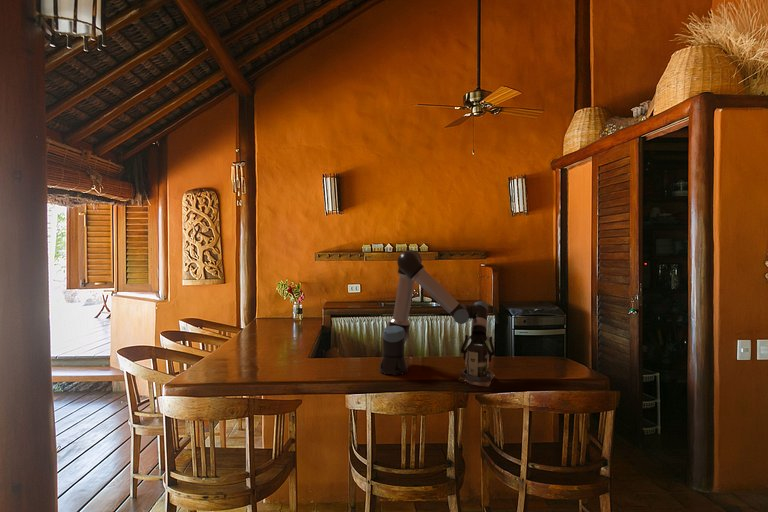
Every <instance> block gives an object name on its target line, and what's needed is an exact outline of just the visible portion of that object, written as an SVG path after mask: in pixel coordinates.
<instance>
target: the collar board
mask: <svg viewBox="0 0 768 512" xmlns="http://www.w3.org/2000/svg"><path fill="white" fill-rule="evenodd" d="M494 376H495V377H496V374H494V372H493V371H491V370H489V368H487V376H482V377H477V376H470V375H467V367H466V368H463V369H462V371H461V372H460V377H459V379H460V378H464V379H465V380H464V381H467V382H468V383H469V384H468V385H472V386H473V385H474V386H481V387H486V388H487V387H488V388H489V387H490V385H492V383H491V380H492V378H493V377H494Z"/></svg>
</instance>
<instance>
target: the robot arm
mask: <svg viewBox="0 0 768 512" xmlns="http://www.w3.org/2000/svg"><path fill="white" fill-rule="evenodd" d="M422 262H423V261H422V256H421V254H420V253H419V252H417V251H416V250H413V249H408V250H405V251H404V252H401V253H400V255H399V256H398V257H397V268H398V269H397V274H398V275H399V279H398V284H397V290H396V297H395V302H394V303H395V304H394V308H393V309H394V310H393V315H392V317H391V318H390V319H389V320H388V321H389V322H388V326H386V327H385V328H383V330H382V358H381V362H380V365H379V373H380V374H382V373H385V374H402V373H405V374H407V373H408V372H407V371H409V366H408V363H407V361H406V357H405V351H406V350H405V346H406V345H405V344H406V343H407V341H408V339H409V337H410V326H411V323H410V321H409V316H410V309H411V303H412V299H413V293H414V286H415V282H416V283H417V284H418V285H419V286H420V287H421V288H422V289H423V290H424V291H425V292H427V294H428V295H429V296H430V297H431V298H433V299H434V300H435V301H436V302H437V303H438V304H439V306H441V307H442V308H443V310H445V311H446V313H448V314H449V315H450V316H451V317H452V318H453V319H454V322H455V323H457V324H458V325H463V324H466V323H467V321H468V320H469V319H470V320H472V327H471V335H468V334H466V335H464V341H463V343H462V345H461V347H460V354H462V355H463V357H462V358H463V361H464V366H465V367H466V368H467V347H468V346H471V345H480V346H485V347H487V348H488V354H487V369H489V366H490V363H491V362H492V357H495V356H496V350H495V347H494V343H493V337H492V336H487V328H488V315H489V314H488V312H489V309H488V304H487V303H486V302H485V301H481V300H479V301H475V302H474V303H473V304H466V303H465V304H464V303H460V302H459V301H457V299H455V298H454V297H453V296H452V295H451V294H450V292H449V291H447V290H446V289H445V288H444V287H443V286H442V285H441V284H440V283H439V282H438V281H437V280H436V279H435V278H433V276H432V275H431V274H430V273H428V272H427V270H426V269H425V266H424V265H423V264H422ZM469 340H471V341H470V342H469ZM486 341H488V342H489V346H488V345H487V343H486ZM468 343H469V344H468ZM467 344H468V345H467ZM489 347H490V348H489ZM406 372H407V373H406ZM385 374H384V375H385ZM402 375H403V374H402Z"/></svg>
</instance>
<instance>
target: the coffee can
mask: <svg viewBox="0 0 768 512" xmlns="http://www.w3.org/2000/svg"><path fill="white" fill-rule="evenodd" d="M467 346H468V345H467ZM467 346H466V348H467V367H466V368H467V375H470V376H477V377H482V376H487V369H488V368H487V354H488V348H489V347H488V348H487V347H485V346H483V345H480V344H474V345H471V346H468V347H467Z"/></svg>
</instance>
